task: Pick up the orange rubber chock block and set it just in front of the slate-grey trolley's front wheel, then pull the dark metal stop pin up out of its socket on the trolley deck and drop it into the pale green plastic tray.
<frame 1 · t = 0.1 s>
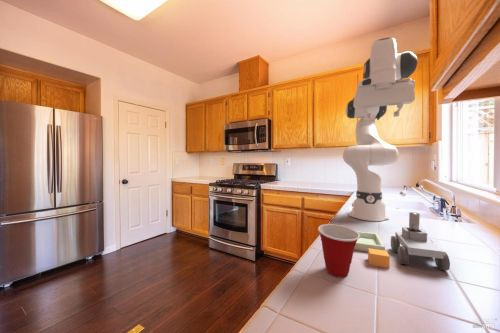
hand: (382, 117, 82), 48 cm above the countertop, tool pointing down, fingers open, 8 cm apart
cart: (416, 259, 66), on the countertop
tray: (364, 244, 77), on the countertop
chock: (378, 263, 63), on the countertop
plastic cup: (337, 272, 59), on the countertop
pin: (413, 237, 68), point 6 cm above the countertop, touching cart
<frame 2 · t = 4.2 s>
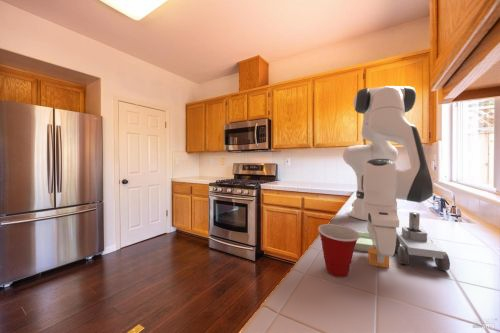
hand: (378, 257, 63), 2 cm above the countertop, tool pointing down, fingers closed on chock, 4 cm apart
chock: (378, 262, 63), on the countertop, touching gripper
everything else where it was.
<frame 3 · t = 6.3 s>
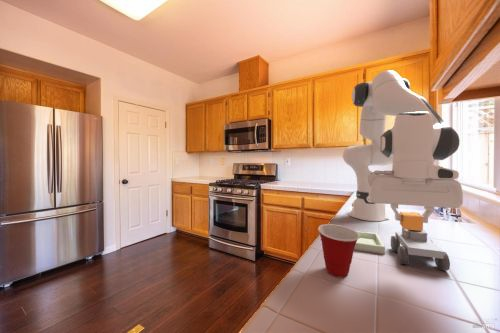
hand: (410, 221, 57), 15 cm above the countertop, tool pointing down, fingers closed on chock, 4 cm apart
chock: (410, 227, 57), point 13 cm above the countertop, touching gripper
everything else where it was.
when the fingers open (2 cm above the countertop, at t = 8.7 s): chock stays where it is, on the countertop.
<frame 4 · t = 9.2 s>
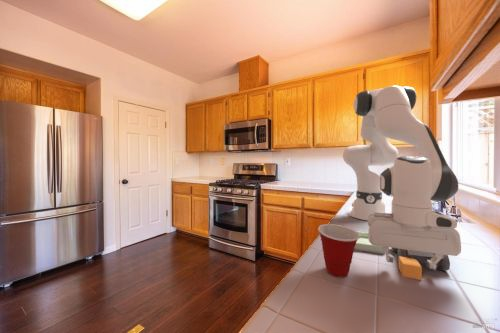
hand: (409, 264, 58), 2 cm above the countertop, tool pointing down, fingers open, 8 cm apart
chock: (409, 273, 58), on the countertop
everything else where it was.
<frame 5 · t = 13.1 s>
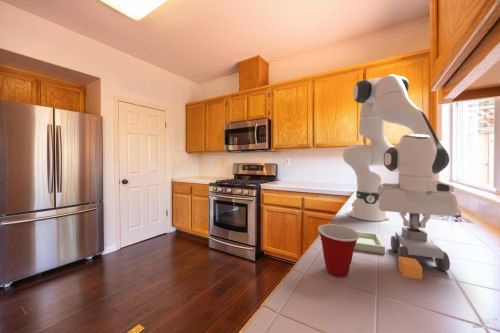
hand: (414, 226, 68), 10 cm above the countertop, tool pointing down, fingers closed on pin, 3 cm apart
pin: (413, 237, 68), point 6 cm above the countertop, touching cart, gripper
everything else where it was.
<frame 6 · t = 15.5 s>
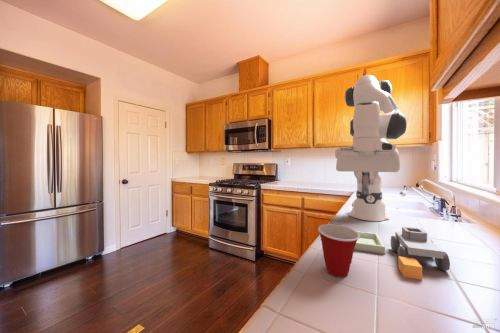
hand: (365, 184, 76), 22 cm above the countertop, tool pointing down, fingers closed on pin, 3 cm apart
pin: (365, 194, 76), point 19 cm above the countertop, touching gripper
everything else where it was.
when the fingers open (6 cm above the countertop, at t = 18.1 s): pin drops 2 cm, resting on tray.
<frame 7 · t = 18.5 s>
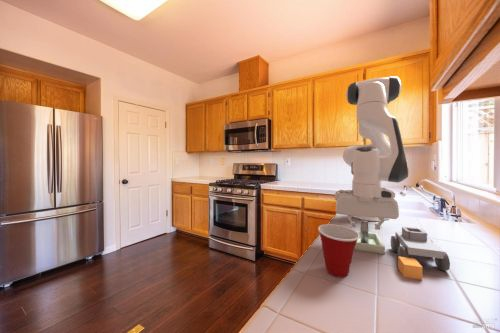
hand: (364, 228, 77), 6 cm above the countertop, tool pointing down, fingers open, 7 cm apart
pin: (364, 242, 77), point 1 cm above the countertop, touching tray
everything else where it was.
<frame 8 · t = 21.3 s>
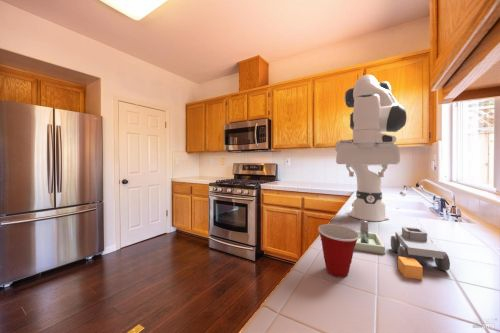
hand: (365, 176, 76), 25 cm above the countertop, tool pointing down, fingers open, 8 cm apart
nothing on the countertop moved.
at the end: chock 0.2 cm from the target spot on the countertop beside the cart, on the countertop; pin inside the target area on the tray (0.1 cm from its centre), point 0.7 cm above the tray's base; the gripper is holding nothing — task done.
